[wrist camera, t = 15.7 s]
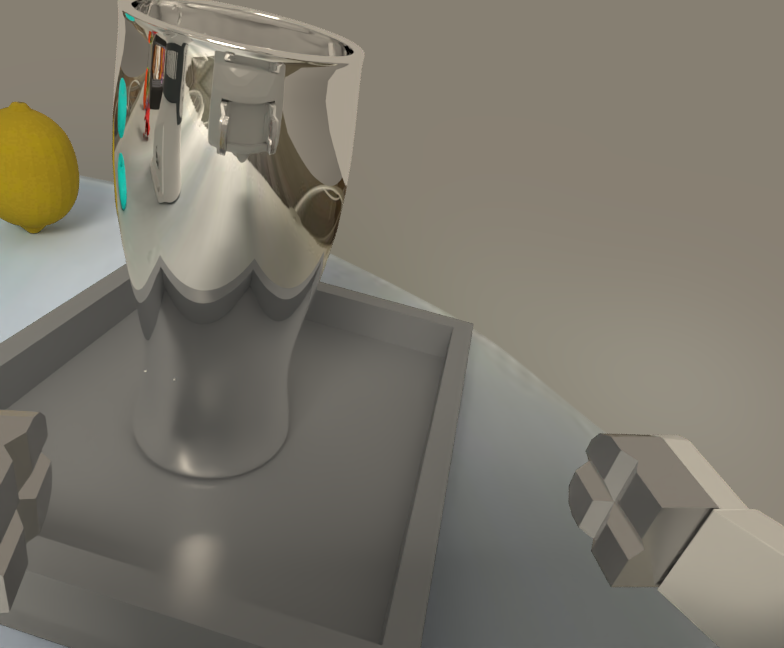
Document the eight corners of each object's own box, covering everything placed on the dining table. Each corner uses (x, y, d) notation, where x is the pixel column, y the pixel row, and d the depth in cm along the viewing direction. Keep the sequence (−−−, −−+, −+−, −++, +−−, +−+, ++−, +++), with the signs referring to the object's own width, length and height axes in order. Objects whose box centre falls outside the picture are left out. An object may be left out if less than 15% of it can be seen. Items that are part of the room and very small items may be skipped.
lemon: (58, 257, 35) (45, 122, 31) (-40, 241, 35) (-66, 100, 31) (97, 224, 40) (90, 103, 36) (12, 209, 39) (-5, 84, 35)
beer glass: (181, 351, 27) (198, -10, 19) (321, 400, 27) (397, 47, 19) (78, 450, 21) (41, -10, 13) (255, 516, 21) (324, 74, 13)
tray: (-194, 559, 17) (-227, 488, 16) (164, 286, 35) (164, 239, 33) (389, 753, 16) (412, 695, 15) (459, 368, 33) (473, 323, 32)
